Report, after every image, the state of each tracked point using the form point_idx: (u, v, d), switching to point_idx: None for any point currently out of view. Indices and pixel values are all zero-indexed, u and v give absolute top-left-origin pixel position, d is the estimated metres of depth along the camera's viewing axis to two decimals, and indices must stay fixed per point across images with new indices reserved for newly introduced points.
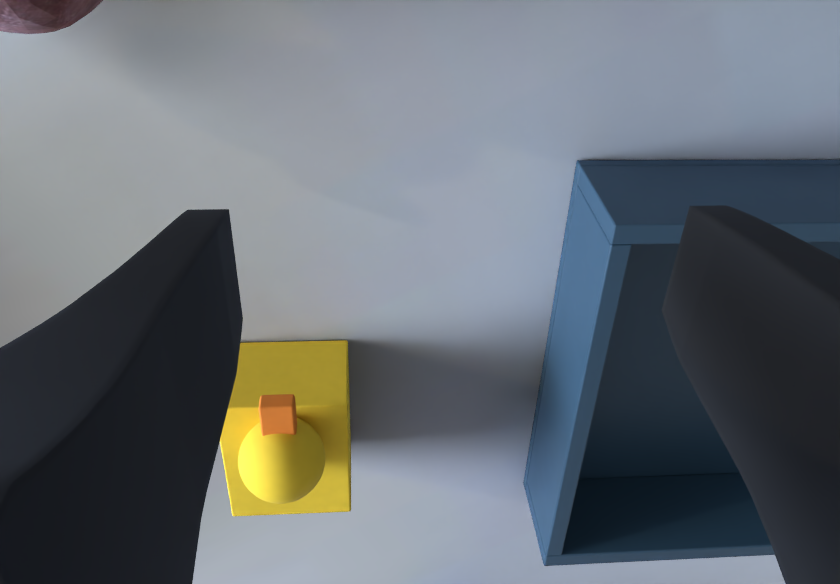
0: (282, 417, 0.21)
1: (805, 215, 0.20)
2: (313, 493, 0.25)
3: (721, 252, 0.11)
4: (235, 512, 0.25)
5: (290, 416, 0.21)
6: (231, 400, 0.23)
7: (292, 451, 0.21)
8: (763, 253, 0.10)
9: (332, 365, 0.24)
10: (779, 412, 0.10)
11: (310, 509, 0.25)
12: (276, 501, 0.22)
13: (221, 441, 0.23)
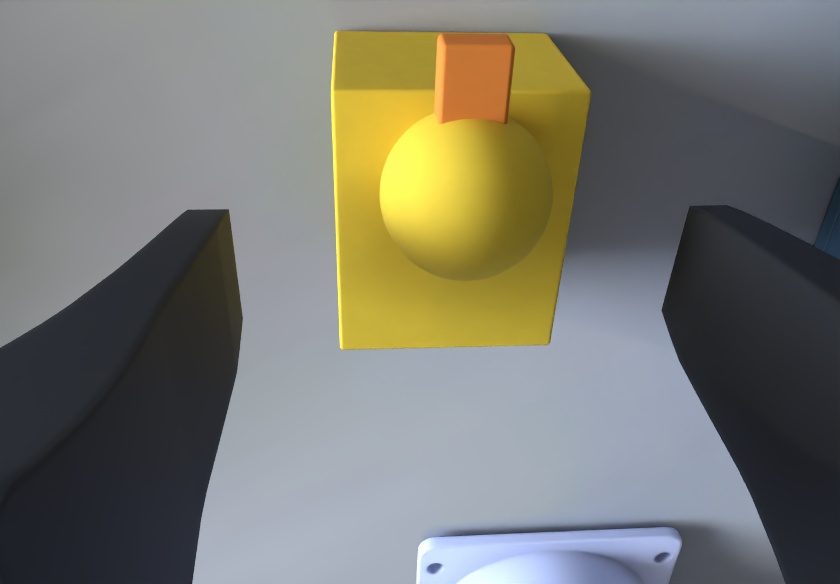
0: (488, 73, 0.10)
1: None
2: (491, 303, 0.14)
3: (721, 252, 0.11)
4: (346, 341, 0.14)
5: (505, 71, 0.10)
6: (362, 82, 0.11)
7: (506, 149, 0.10)
8: (763, 253, 0.10)
9: (536, 54, 0.13)
10: (779, 412, 0.10)
11: (480, 338, 0.14)
12: (466, 263, 0.11)
13: (337, 175, 0.12)
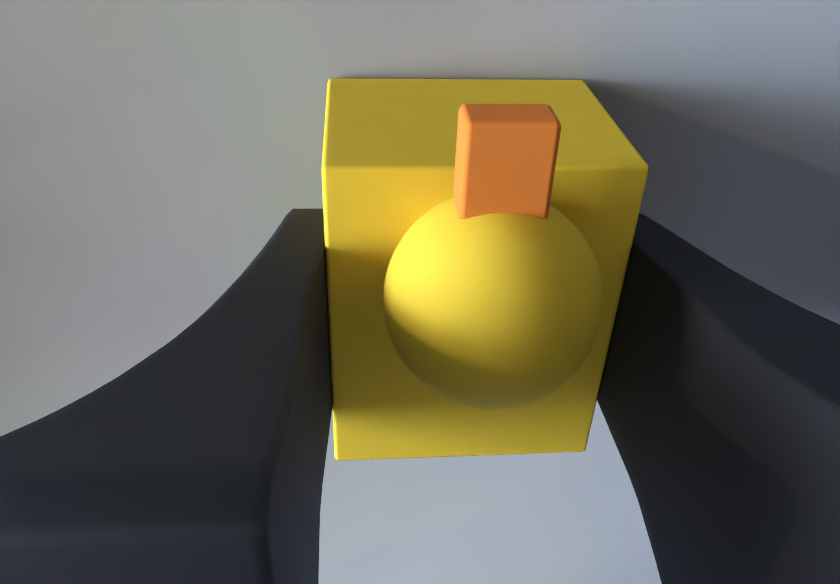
0: (524, 158, 0.08)
1: None
2: (517, 408, 0.11)
3: None
4: (342, 451, 0.11)
5: (548, 155, 0.08)
6: (361, 155, 0.09)
7: (548, 254, 0.08)
8: (643, 255, 0.09)
9: (573, 110, 0.11)
10: (658, 416, 0.09)
11: (503, 446, 0.12)
12: (494, 396, 0.08)
13: (330, 267, 0.10)
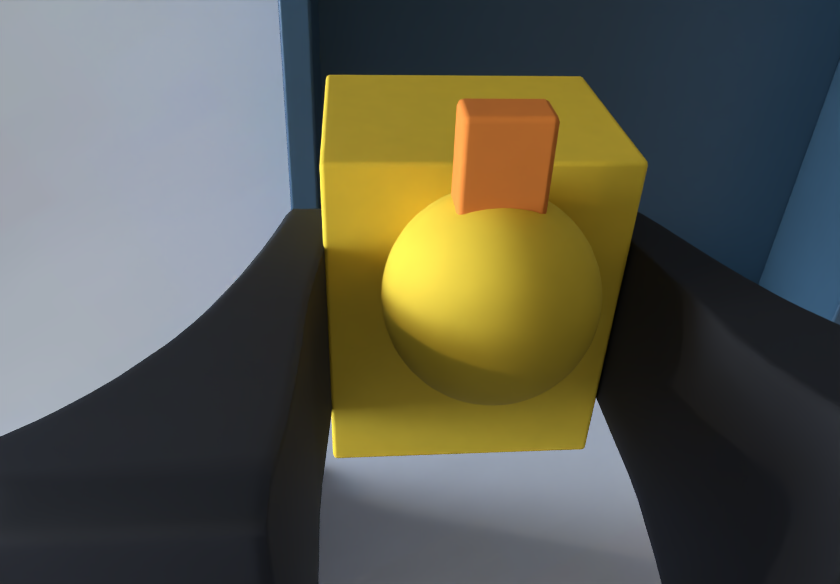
0: (524, 153, 0.08)
1: None
2: (516, 405, 0.11)
3: None
4: (341, 449, 0.11)
5: (547, 150, 0.08)
6: (359, 151, 0.09)
7: (547, 249, 0.08)
8: (643, 255, 0.09)
9: (572, 106, 0.11)
10: (658, 416, 0.09)
11: (502, 443, 0.12)
12: (493, 393, 0.08)
13: (328, 263, 0.10)
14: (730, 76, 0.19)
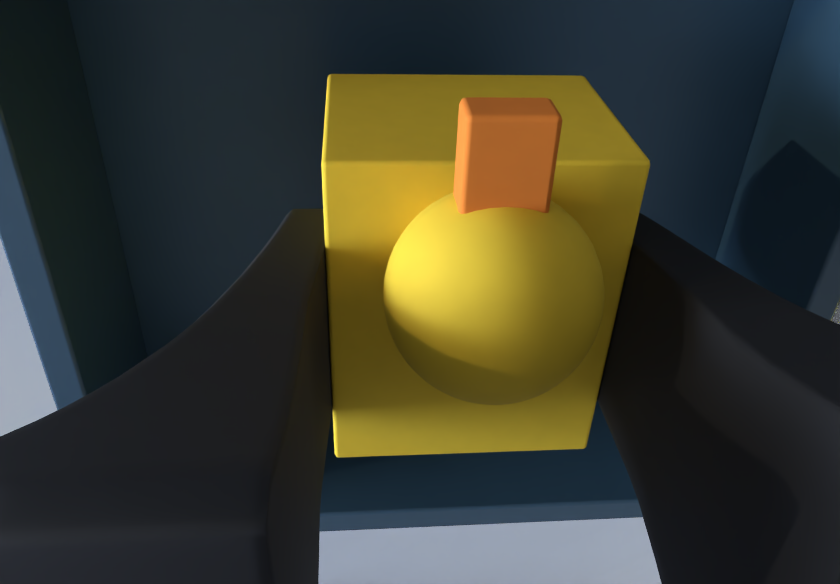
0: (526, 151, 0.08)
1: None
2: (518, 405, 0.11)
3: None
4: (342, 448, 0.11)
5: (549, 149, 0.08)
6: (361, 150, 0.09)
7: (549, 248, 0.08)
8: (643, 255, 0.09)
9: (574, 105, 0.11)
10: (658, 416, 0.09)
11: (503, 443, 0.12)
12: (495, 392, 0.08)
13: (330, 262, 0.10)
14: None
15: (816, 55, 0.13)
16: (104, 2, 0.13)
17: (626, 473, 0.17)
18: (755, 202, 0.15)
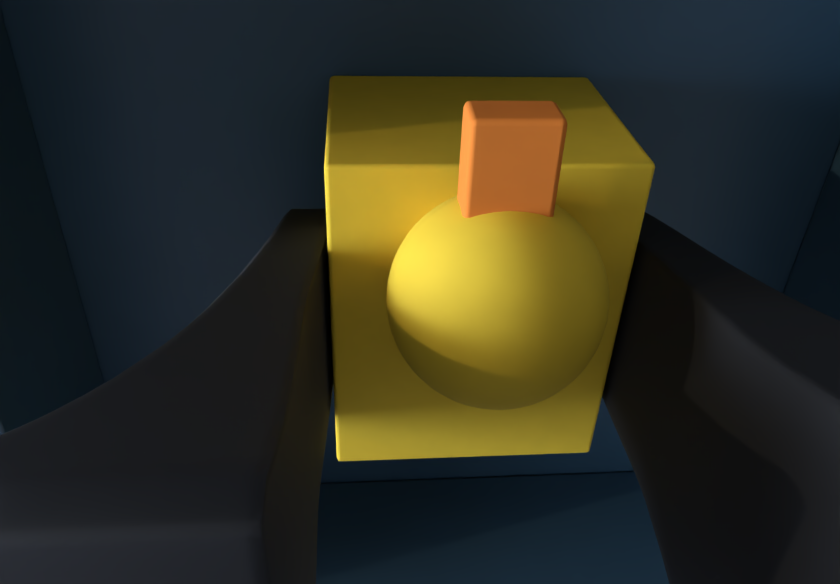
0: (531, 155, 0.08)
1: None
2: (521, 408, 0.11)
3: None
4: (344, 452, 0.11)
5: (554, 152, 0.08)
6: (364, 153, 0.09)
7: (555, 253, 0.08)
8: (650, 255, 0.09)
9: (578, 107, 0.10)
10: (665, 416, 0.09)
11: (506, 447, 0.12)
12: (499, 397, 0.08)
13: (332, 266, 0.09)
14: (663, 221, 0.13)
15: None
16: (56, 47, 0.11)
17: None
18: (823, 273, 0.13)
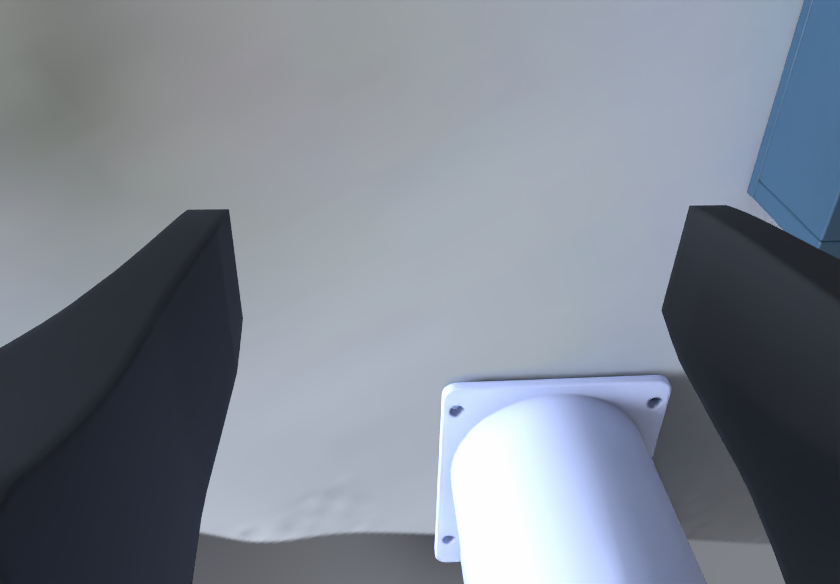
0: None
1: None
2: None
3: (721, 252, 0.11)
4: None
5: None
6: None
7: None
8: (763, 253, 0.10)
9: None
10: (779, 412, 0.10)
11: None
12: None
13: None
14: None
15: None
16: None
17: None
18: None
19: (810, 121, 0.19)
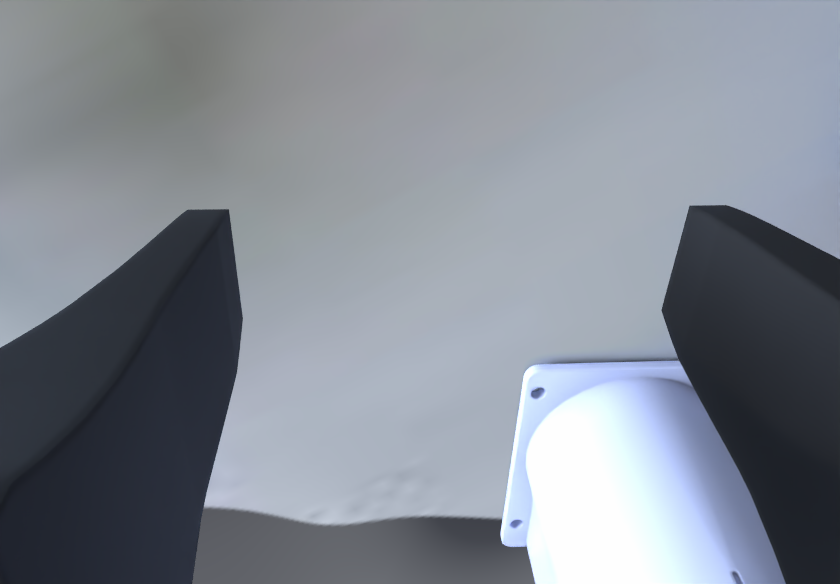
0: None
1: None
2: None
3: (722, 252, 0.11)
4: None
5: None
6: None
7: None
8: (763, 253, 0.10)
9: None
10: (779, 412, 0.10)
11: None
12: None
13: None
14: None
15: None
16: None
17: None
18: None
19: None
